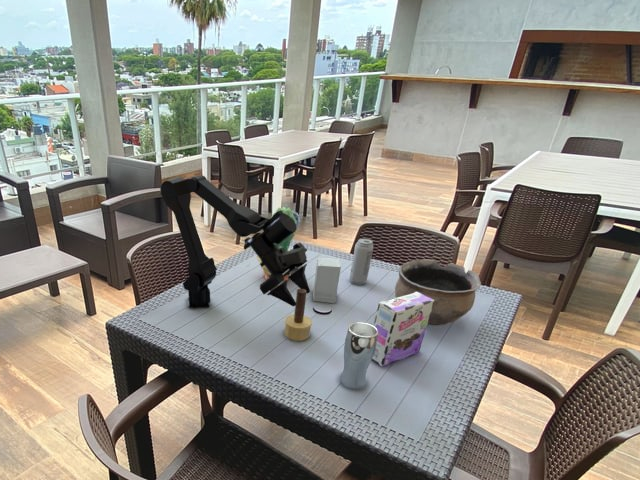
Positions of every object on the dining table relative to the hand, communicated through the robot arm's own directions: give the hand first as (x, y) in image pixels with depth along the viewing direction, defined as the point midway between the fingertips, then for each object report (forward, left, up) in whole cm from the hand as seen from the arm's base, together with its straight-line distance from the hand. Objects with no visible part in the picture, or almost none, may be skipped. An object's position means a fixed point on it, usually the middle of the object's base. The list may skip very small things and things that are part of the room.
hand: (302, 299), depth 119 cm
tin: (0, 0, -12) cm, 12 cm away
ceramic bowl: (+42, +5, -12) cm, 44 cm away
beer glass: (+8, -23, -12) cm, 27 cm away
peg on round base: (0, 0, -8) cm, 8 cm away
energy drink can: (+31, +33, -12) cm, 47 cm away
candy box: (+23, -13, -12) cm, 29 cm away
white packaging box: (+15, +22, -12) cm, 29 cm away
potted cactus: (+3, +40, -12) cm, 42 cm away
